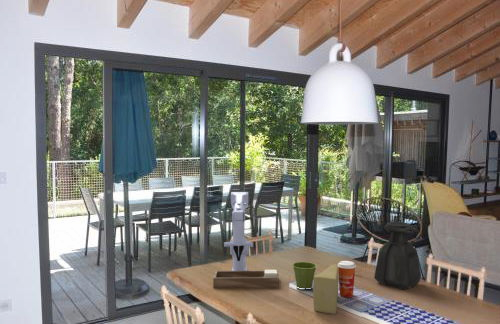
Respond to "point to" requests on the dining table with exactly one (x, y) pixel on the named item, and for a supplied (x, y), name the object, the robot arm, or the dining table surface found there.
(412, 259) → the black faceted vase
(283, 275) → the dining table surface
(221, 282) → the trap box
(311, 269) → the plant pot
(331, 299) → the cheese
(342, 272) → the coffee cup
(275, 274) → the cream block
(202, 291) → the dining table surface
